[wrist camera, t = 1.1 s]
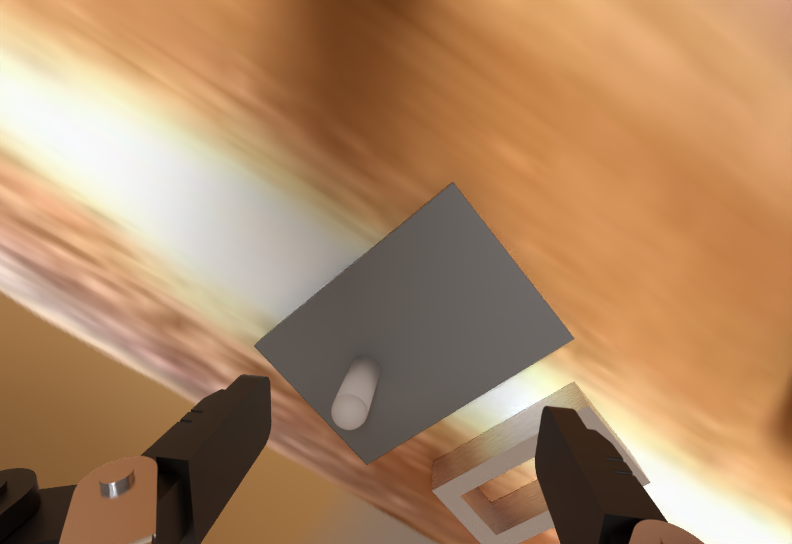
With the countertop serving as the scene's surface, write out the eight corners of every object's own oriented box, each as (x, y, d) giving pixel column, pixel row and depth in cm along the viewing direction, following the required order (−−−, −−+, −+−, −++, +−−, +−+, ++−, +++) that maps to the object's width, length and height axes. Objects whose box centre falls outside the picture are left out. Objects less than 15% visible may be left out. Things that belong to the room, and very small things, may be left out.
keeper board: (452, 181, 26) (456, 188, 18) (567, 329, 27) (612, 389, 20) (262, 337, 31) (206, 391, 24) (369, 451, 33) (348, 534, 26)
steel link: (574, 381, 29) (588, 405, 26) (630, 452, 30) (650, 482, 27) (432, 462, 32) (431, 490, 30) (487, 522, 33) (491, 555, 31)
